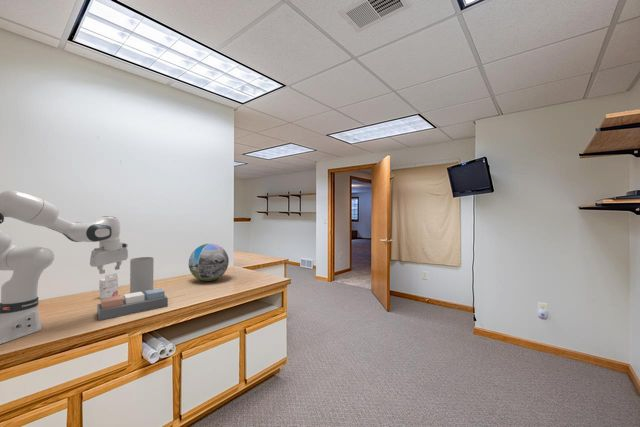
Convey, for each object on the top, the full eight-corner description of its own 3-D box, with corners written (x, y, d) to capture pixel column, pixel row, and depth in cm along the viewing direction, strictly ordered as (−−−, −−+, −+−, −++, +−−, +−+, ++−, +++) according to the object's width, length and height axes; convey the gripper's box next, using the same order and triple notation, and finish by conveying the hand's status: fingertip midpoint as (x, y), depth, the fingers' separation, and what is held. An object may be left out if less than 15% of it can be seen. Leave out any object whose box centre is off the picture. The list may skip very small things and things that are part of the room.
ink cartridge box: (111, 294, 176) (112, 272, 176) (118, 294, 175) (118, 272, 175) (98, 298, 168) (99, 275, 168) (105, 298, 167) (105, 275, 167)
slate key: (147, 301, 150) (147, 294, 150) (144, 297, 156) (144, 290, 156) (164, 297, 156) (164, 291, 156) (160, 294, 162) (160, 288, 162)
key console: (99, 320, 133) (99, 310, 133) (97, 313, 143) (97, 304, 143) (167, 306, 155) (167, 297, 155) (161, 300, 164) (161, 292, 164)
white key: (125, 305, 143) (126, 297, 143) (123, 301, 149) (123, 294, 149) (144, 301, 149) (144, 294, 149) (141, 298, 155) (141, 291, 155)
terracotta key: (101, 309, 136) (102, 302, 136) (100, 305, 142) (100, 298, 142) (122, 306, 142) (122, 298, 142) (119, 302, 148) (119, 295, 148)
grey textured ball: (207, 275, 232) (207, 241, 232) (236, 277, 223) (236, 242, 223) (179, 283, 204) (179, 245, 204) (211, 287, 194) (211, 246, 194)
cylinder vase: (157, 296, 173) (157, 258, 173) (136, 301, 162) (136, 261, 162) (147, 292, 179) (147, 256, 179) (126, 297, 169) (126, 259, 169)
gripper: (97, 248, 132) (97, 276, 132) (130, 243, 152) (130, 267, 152) (86, 248, 132) (86, 276, 132) (119, 243, 152) (119, 267, 153)
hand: (109, 271), depth 142 cm, fingers open, 8 cm apart
